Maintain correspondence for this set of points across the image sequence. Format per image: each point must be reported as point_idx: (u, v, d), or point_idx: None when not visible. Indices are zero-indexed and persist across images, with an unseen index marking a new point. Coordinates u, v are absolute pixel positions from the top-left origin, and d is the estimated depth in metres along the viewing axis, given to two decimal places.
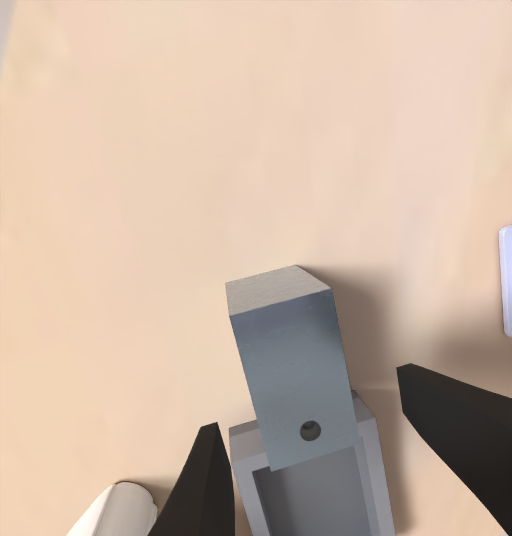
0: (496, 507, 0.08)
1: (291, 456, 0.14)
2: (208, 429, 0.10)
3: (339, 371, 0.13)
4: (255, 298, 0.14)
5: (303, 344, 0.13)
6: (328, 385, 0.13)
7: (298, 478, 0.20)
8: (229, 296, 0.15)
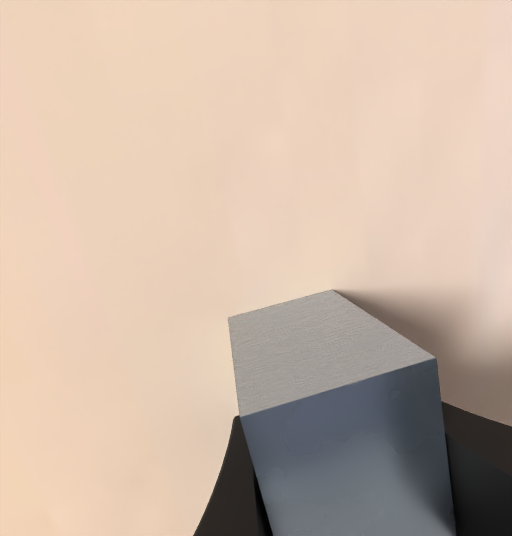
0: None
1: None
2: None
3: (439, 502, 0.07)
4: (285, 365, 0.08)
5: (377, 460, 0.07)
6: (418, 526, 0.07)
7: None
8: (236, 353, 0.09)
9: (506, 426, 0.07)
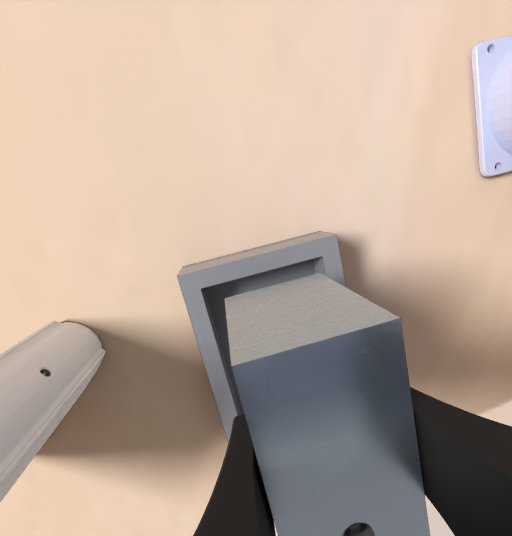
0: (454, 522, 0.08)
1: None
2: (243, 418, 0.10)
3: (406, 447, 0.08)
4: (272, 329, 0.09)
5: (351, 407, 0.08)
6: (388, 469, 0.08)
7: None
8: (230, 323, 0.10)
9: (506, 426, 0.07)
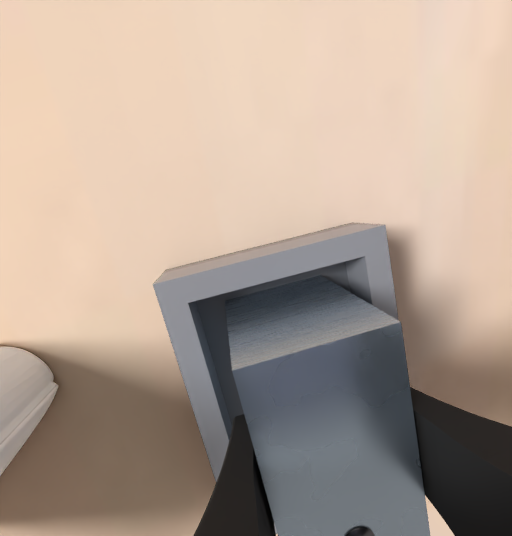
0: (454, 522, 0.08)
1: None
2: (243, 418, 0.10)
3: (407, 451, 0.08)
4: (273, 333, 0.09)
5: (352, 412, 0.08)
6: (389, 472, 0.08)
7: None
8: (230, 326, 0.10)
9: (506, 426, 0.07)
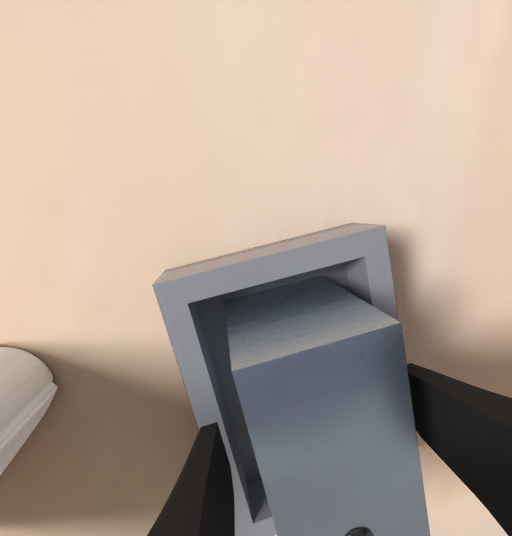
0: (496, 507, 0.08)
1: None
2: (208, 429, 0.10)
3: (406, 452, 0.08)
4: (272, 333, 0.09)
5: (351, 413, 0.08)
6: (389, 473, 0.08)
7: None
8: (230, 327, 0.10)
9: None
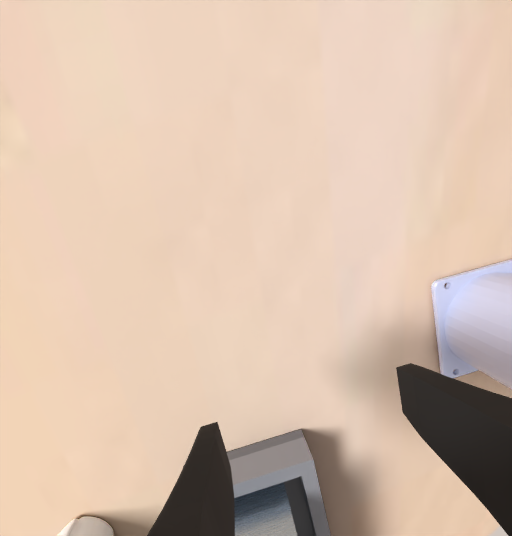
0: (496, 507, 0.08)
1: None
2: (208, 428, 0.10)
3: None
4: None
5: None
6: None
7: None
8: None
9: None
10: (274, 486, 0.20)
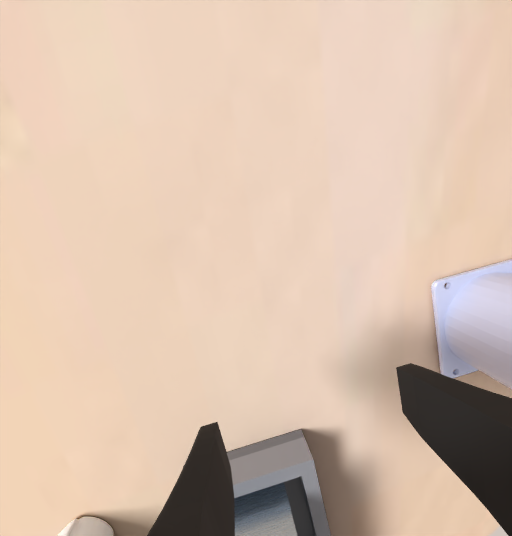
0: (496, 507, 0.08)
1: None
2: (208, 429, 0.10)
3: None
4: None
5: None
6: None
7: None
8: None
9: None
10: (274, 486, 0.20)
